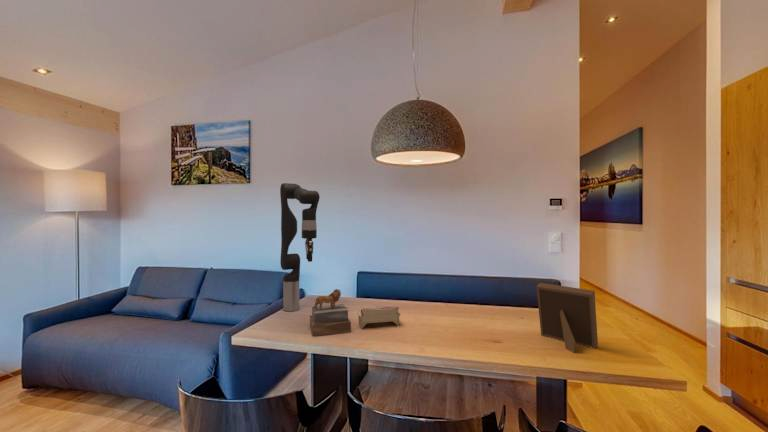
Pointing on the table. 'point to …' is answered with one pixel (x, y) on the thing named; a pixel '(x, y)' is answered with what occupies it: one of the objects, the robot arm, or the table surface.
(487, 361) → the table surface
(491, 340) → the table surface
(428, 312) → the table surface
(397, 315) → the toy sofa
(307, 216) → the robot arm
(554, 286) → the photo frame
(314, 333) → the wooden box
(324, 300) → the lion figurine
